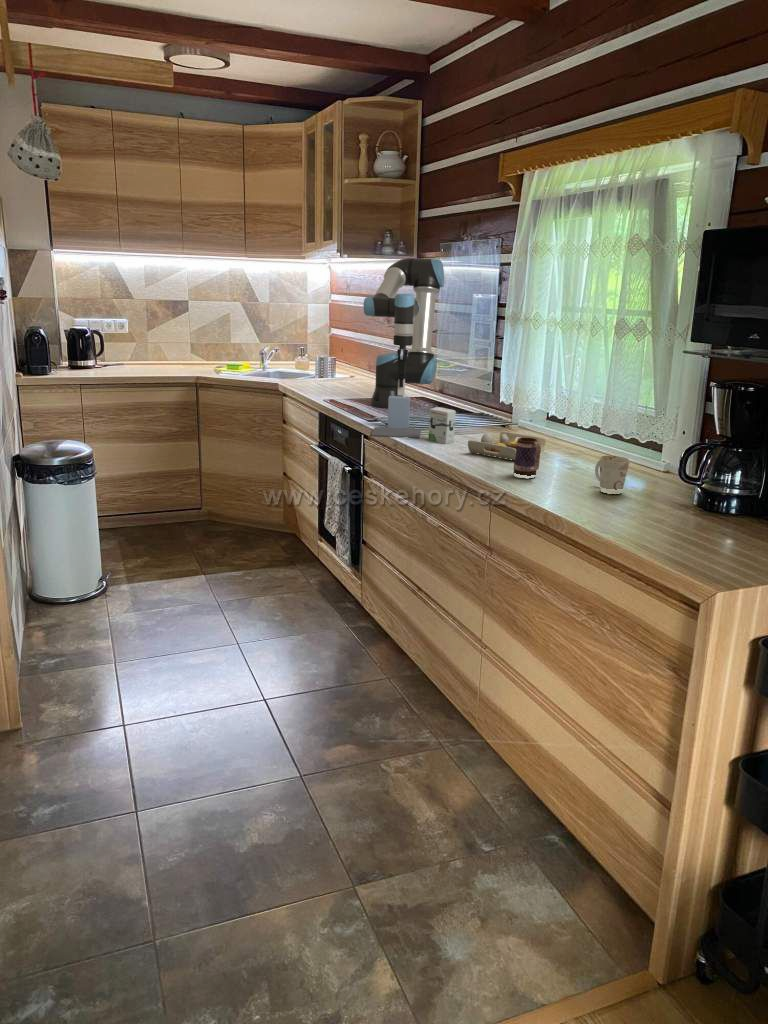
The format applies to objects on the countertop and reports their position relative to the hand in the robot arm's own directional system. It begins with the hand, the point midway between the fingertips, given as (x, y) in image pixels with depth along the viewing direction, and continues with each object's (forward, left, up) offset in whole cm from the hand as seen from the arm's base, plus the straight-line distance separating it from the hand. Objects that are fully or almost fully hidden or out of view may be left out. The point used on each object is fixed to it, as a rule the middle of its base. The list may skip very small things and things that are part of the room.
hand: (401, 395), depth 315 cm
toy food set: (+44, +40, -12) cm, 61 cm away
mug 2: (+78, +44, -11) cm, 90 cm away
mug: (+88, +66, -11) cm, 110 cm away
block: (+11, 0, -11) cm, 15 cm away
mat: (+21, 0, -11) cm, 24 cm away
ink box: (+32, +17, -11) cm, 38 cm away
